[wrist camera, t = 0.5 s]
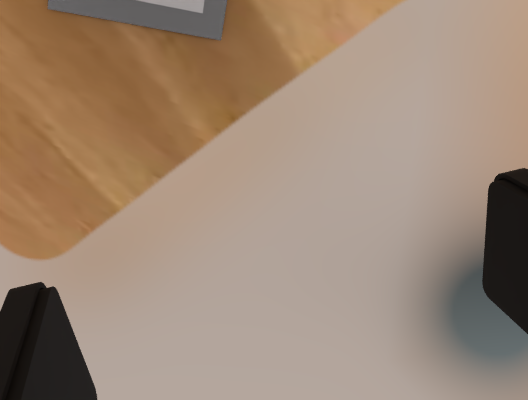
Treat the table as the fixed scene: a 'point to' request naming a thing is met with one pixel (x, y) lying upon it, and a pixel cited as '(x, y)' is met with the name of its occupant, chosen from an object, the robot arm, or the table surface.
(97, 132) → the table surface
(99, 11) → the coaster
